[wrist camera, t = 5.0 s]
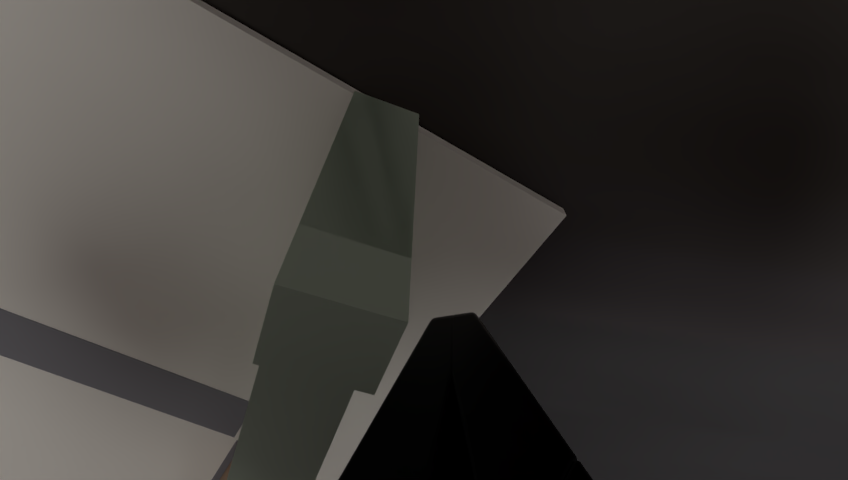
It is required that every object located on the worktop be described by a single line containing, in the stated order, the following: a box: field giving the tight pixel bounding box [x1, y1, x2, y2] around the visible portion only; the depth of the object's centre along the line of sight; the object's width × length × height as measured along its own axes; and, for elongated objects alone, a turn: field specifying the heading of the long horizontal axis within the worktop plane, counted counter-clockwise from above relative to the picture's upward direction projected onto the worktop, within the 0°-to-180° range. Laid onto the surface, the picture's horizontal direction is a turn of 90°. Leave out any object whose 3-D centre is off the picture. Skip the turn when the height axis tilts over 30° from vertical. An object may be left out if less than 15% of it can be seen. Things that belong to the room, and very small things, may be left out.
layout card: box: [0, 0, 566, 480], centre depth 13 cm, size 18×14×1 cm
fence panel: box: [227, 91, 419, 480], centre depth 9 cm, size 9×1×6 cm, turn 160°
